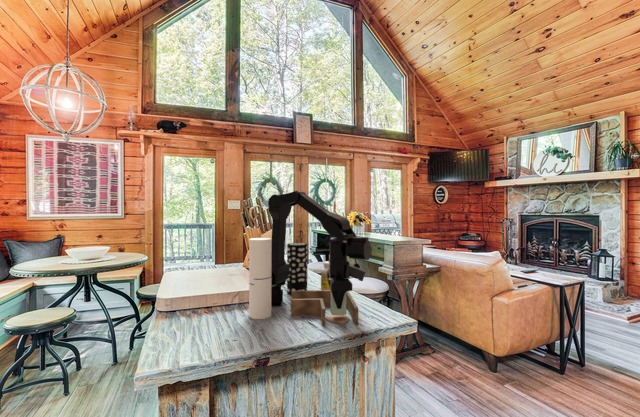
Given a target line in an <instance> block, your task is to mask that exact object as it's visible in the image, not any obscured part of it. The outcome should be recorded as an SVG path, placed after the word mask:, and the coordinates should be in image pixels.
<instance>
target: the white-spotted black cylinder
mask: <svg viewBox="0 0 640 417" xmlns="http://www.w3.org/2000/svg"><path fill="white" fill-rule="evenodd" d="M286 248H287V250H286V251H287V252H286V255H287V257H286V259H287V261H286V263H287V264H290V269H289V272H290V275H288V279H287V280H286V293H287V294H288V295H291V296H292V291H308V243H306V242H304V243H303V242H290V243H287V244H286Z"/></svg>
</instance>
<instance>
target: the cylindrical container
mask: <svg viewBox="0 0 640 417" xmlns="http://www.w3.org/2000/svg"><path fill="white" fill-rule="evenodd" d="M248 246H249V247H248V248H249V249H248V253H249V255H248V256H249V260H248V261H249V262H248V263H249V264H248V268H249V269H248V274H249V275H248V282H249V283H248V285H249V286H248V298H249V299H248V301H249V302H248V306H249V307H248V317H249V318H251V319H253V320H264V319H268V318H271V316H272V306H271V246H272V237H253V238H249V239H248Z"/></svg>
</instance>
